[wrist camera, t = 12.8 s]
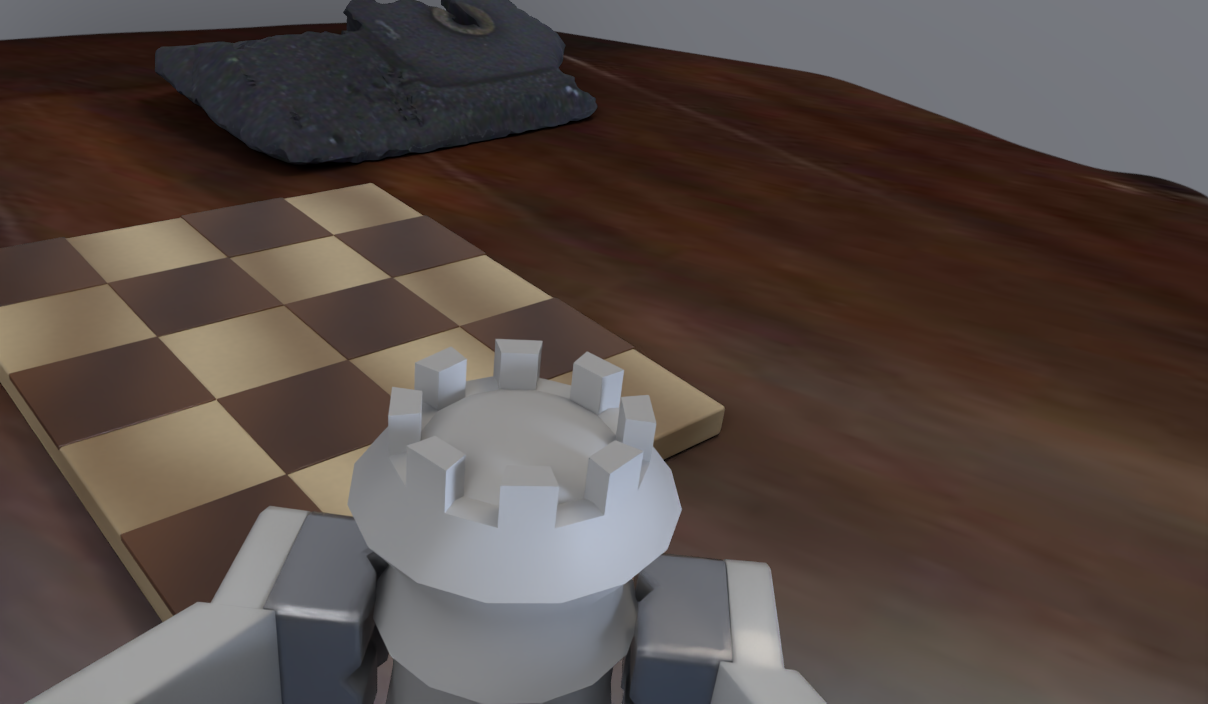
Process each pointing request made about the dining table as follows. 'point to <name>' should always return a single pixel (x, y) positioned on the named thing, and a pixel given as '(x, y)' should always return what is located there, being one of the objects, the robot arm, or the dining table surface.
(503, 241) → the dining table surface
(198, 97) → the dark slate chunk
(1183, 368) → the dining table surface
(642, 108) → the dining table surface
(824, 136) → the dining table surface
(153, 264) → the chessboard
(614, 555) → the rook chess piece
